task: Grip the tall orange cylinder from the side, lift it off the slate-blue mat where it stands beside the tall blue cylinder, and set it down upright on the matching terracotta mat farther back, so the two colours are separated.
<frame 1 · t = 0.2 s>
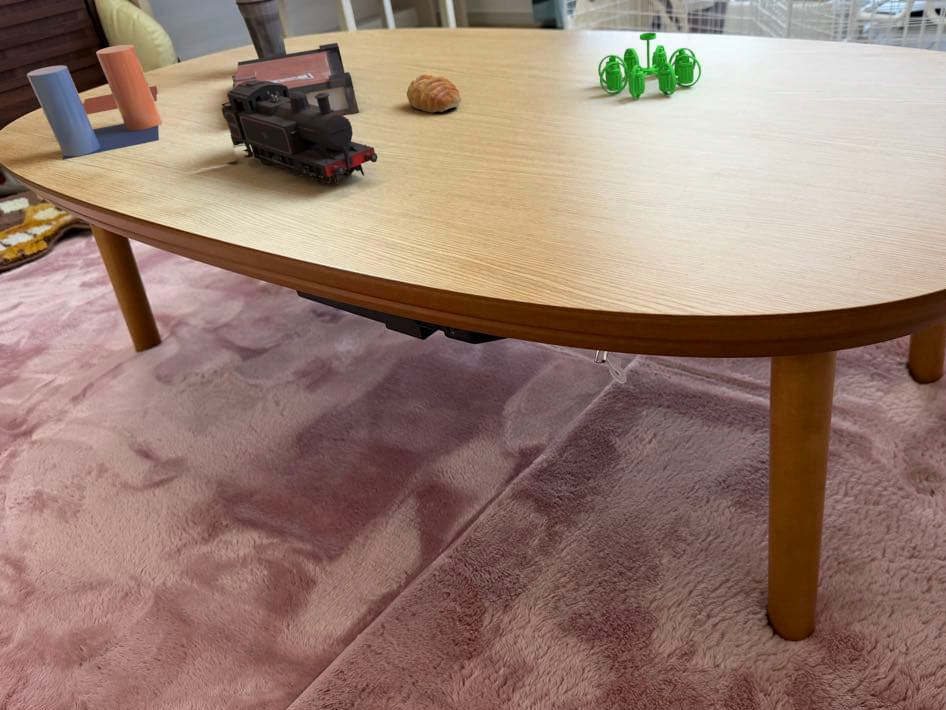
blue mat: (114, 140, 120), on the table
toy train: (307, 169, 101), on the table
chandelier: (648, 87, 115), on the table
beverage cup: (276, 70, 148), on the table
terracotta mat: (121, 103, 138), on the table
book: (296, 101, 128), on the table
tall blue cylinder: (82, 151, 115), point 1 cm above the table, touching blue mat
tall orange cylinder: (144, 125, 123), point 1 cm above the table, touching blue mat
pastry: (437, 106, 118), on the table
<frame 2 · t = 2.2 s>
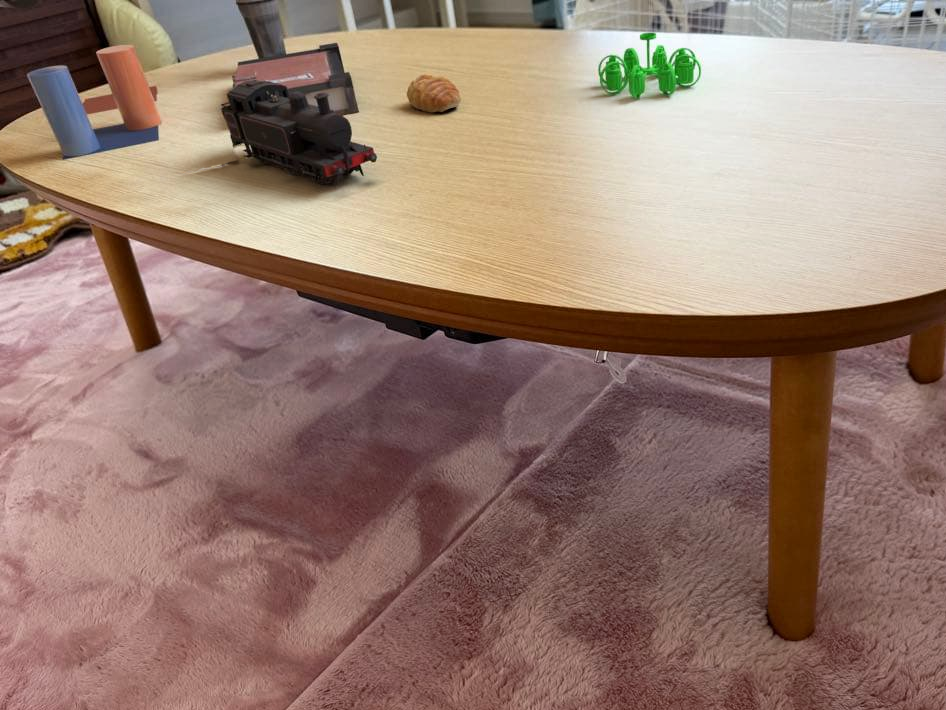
nothing on the table moved.
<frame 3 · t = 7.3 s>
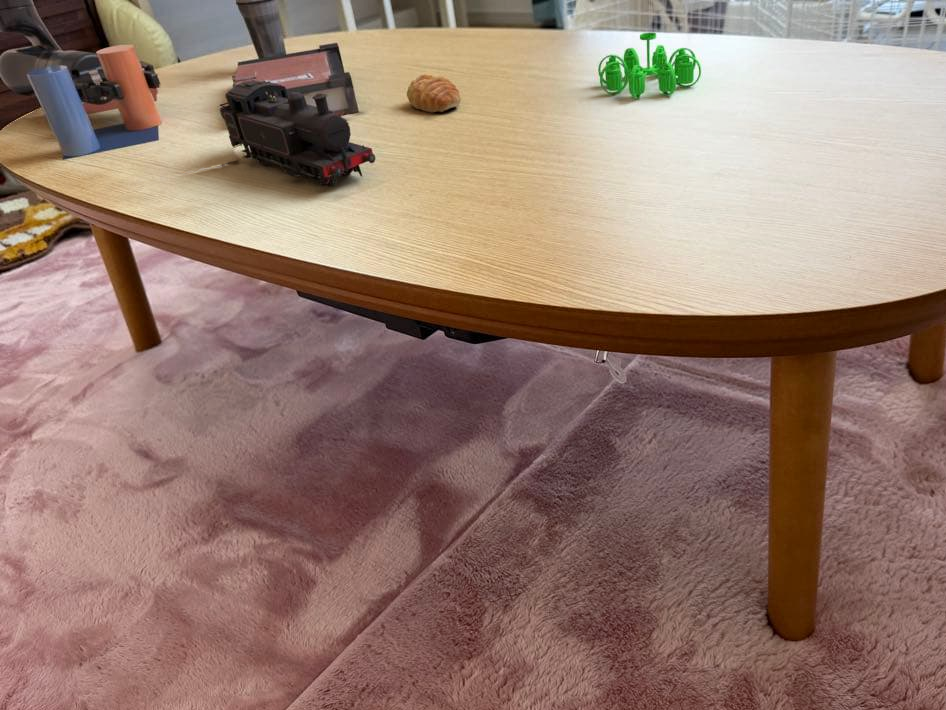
hand: (137, 86, 118), 7 cm above the table, tool horizontal, fingers closed on tall orange cylinder, 5 cm apart
tall orange cylinder: (144, 125, 123), point 1 cm above the table, touching blue mat, gripper
everything else where it was.
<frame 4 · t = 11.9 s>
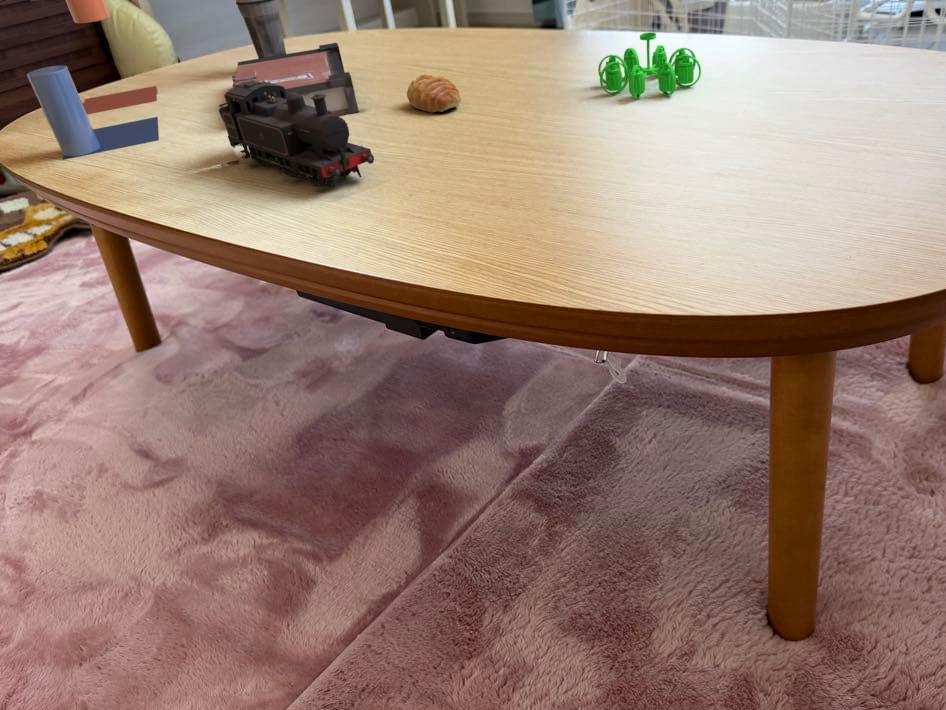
tall orange cylinder: (92, 19, 126), point 14 cm above the table, touching gripper
everything else where it was.
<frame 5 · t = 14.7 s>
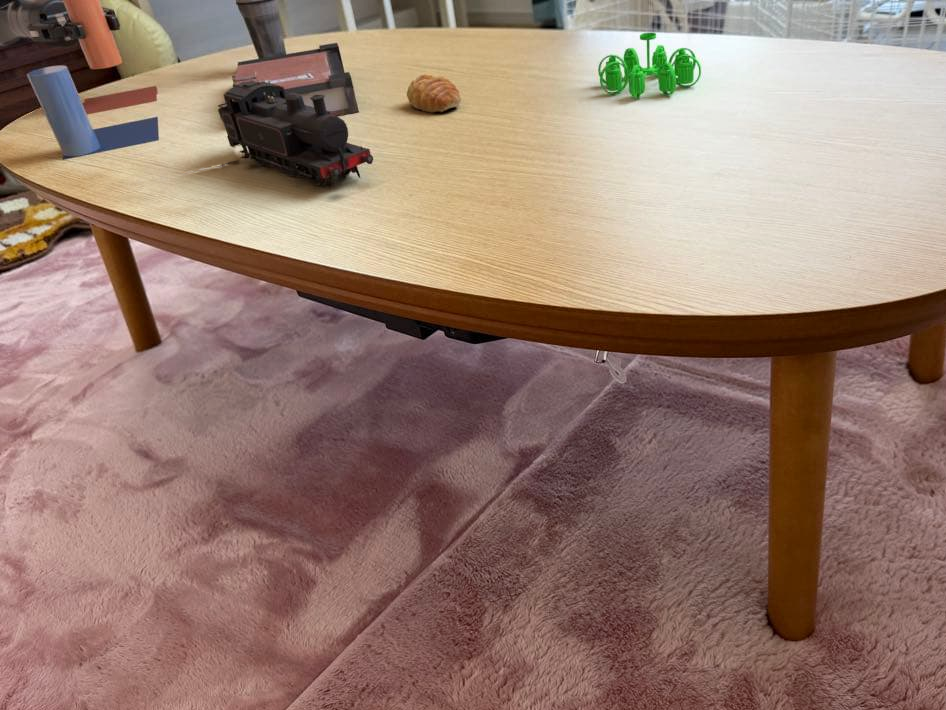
hand: (99, 27, 130), 12 cm above the table, tool horizontal, fingers closed on tall orange cylinder, 5 cm apart
tall orange cylinder: (106, 65, 135), point 6 cm above the table, touching gripper
everything else where it was.
when the fingers open (7 cm above the table, at t = 16.8 s): tall orange cylinder stays where it is, resting on terracotta mat.
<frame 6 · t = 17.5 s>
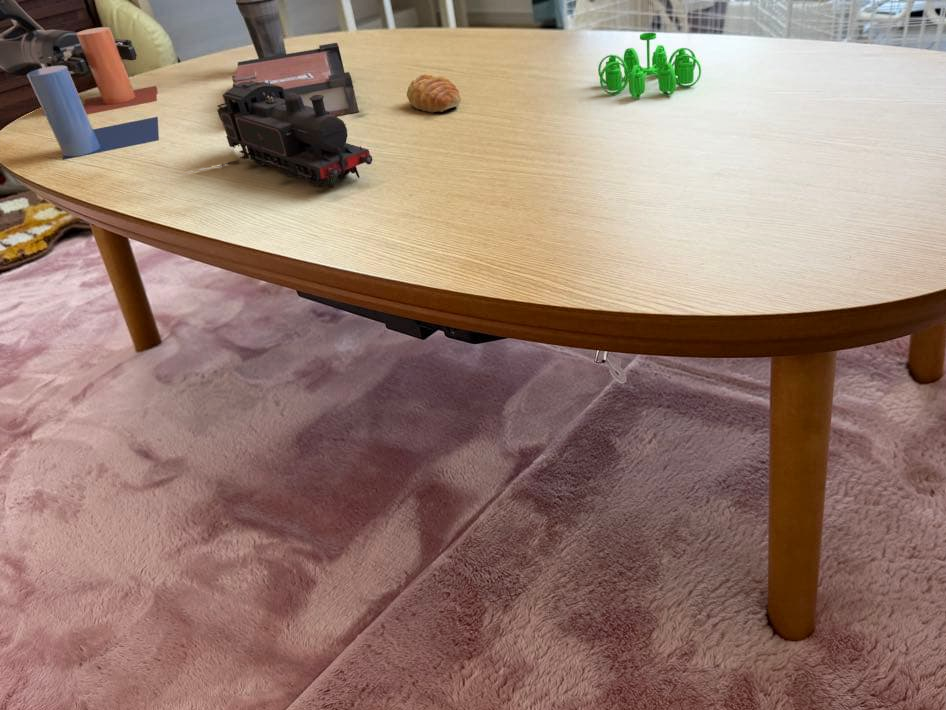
hand: (109, 59, 133), 7 cm above the table, tool horizontal, fingers open, 8 cm apart
tall orange cylinder: (120, 99, 138), point 1 cm above the table, touching terracotta mat
everything else where it was.
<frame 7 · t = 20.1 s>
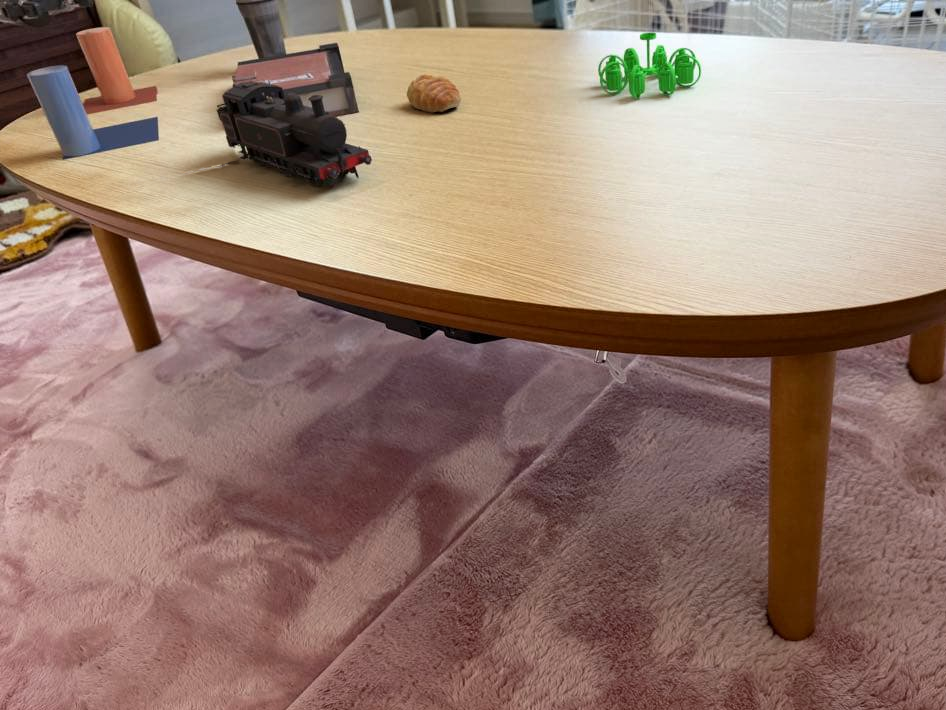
hand: (64, 4, 132), 15 cm above the table, tool horizontal, fingers open, 8 cm apart
nothing on the table moved.
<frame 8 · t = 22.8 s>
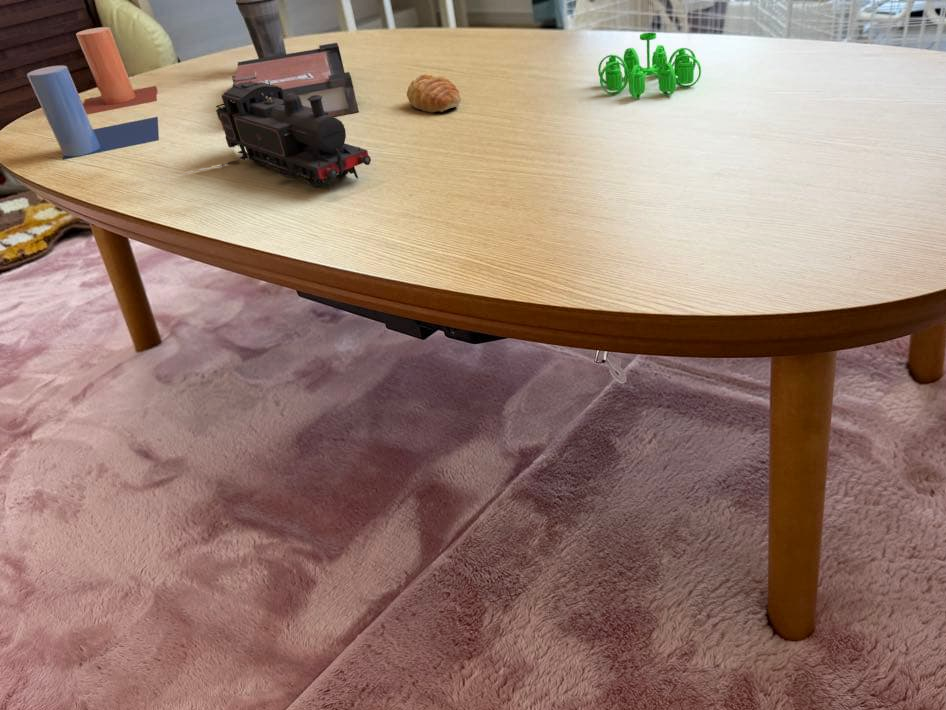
nothing on the table moved.
at the end: tall orange cylinder inside the target area on the terracotta mat (0.1 cm from its centre), point 0.6 cm above the terracotta mat's base; tall orange cylinder tilted 0°; tall blue cylinder inside the target area on the blue mat (6.0 cm from its centre), point 0.6 cm above the blue mat's base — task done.
